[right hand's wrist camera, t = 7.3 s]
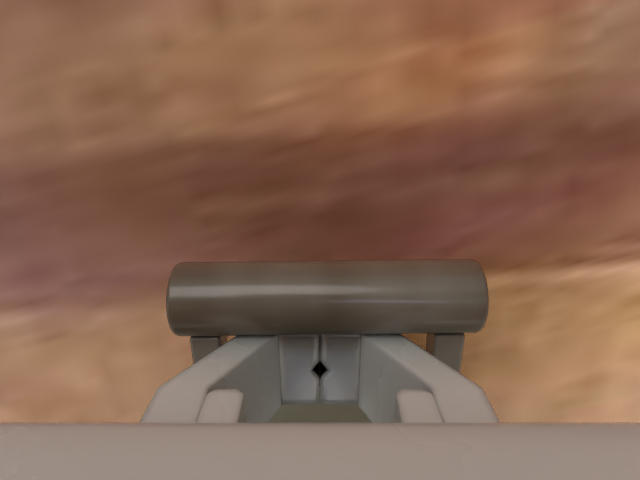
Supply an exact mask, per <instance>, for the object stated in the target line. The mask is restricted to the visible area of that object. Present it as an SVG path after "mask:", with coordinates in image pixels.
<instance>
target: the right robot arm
mask: <svg viewBox="0 0 640 480" xmlns="http://www.w3.org/2000/svg"><path fill="white" fill-rule="evenodd" d="M319 391H320V404H342V405H359V408H360V409H361V410H362V412H363V413H364V414H365V415H366V416H367V418H368V419H369V420H370V421H371V422H372V423H268V422H269V421H270V420H271V419H272V418H273V416H274V415H275V414H276V413H277V412H278V410H279V409H280V408H281V405H297V404H319ZM0 480H640V423H500V422H499V420H498V418H497V416H496V414H495V412H494V410H493V408H492V406H491V404H490V402H489V400H488V398H487V397H486V395H485V393H484V391H483V389H482V388H481V387H480V386H478V385H477V384H475V383H474V382H472V381H471V380H469V379H468V378H466V377H465V376H463V375H461V374H460V373H458V372H457V371H455V370H454V369H452V368H451V367H449V366H448V365H446V364H445V363H443V362H442V361H440V360H439V359H437V358H436V357H434V356H433V355H431V354H430V353H428V352H427V351H425V350H424V349H422V348H420V347H419V346H417V345H416V344H414V343H413V342H411V341H410V340H408V339H407V338H405V337H404V336H402V335H401V334H322V335H237V336H236V337H234V338H233V339H231V340H230V341H228V342H227V343H225V344H224V345H222V346H221V347H219V348H218V349H216V350H215V351H213V352H211V353H210V354H208V355H207V356H205V357H204V358H202V359H201V360H199V361H198V362H196V363H195V364H193V365H192V366H190V367H189V368H187V369H186V370H184V371H182V372H181V373H179V374H178V375H176V376H175V377H173V378H172V379H170V380H169V381H167V382H166V383H164V384H163V385H161V386H160V387H158V389H157V390H156V392H155V394H154V396H153V398H152V400H151V402H150V404H149V406H148V407H147V409H146V411H145V413H144V415H143V417H142V419H141V421H140V423H0Z"/></svg>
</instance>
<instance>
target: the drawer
mask: <svg viewBox="0 0 640 480" xmlns="http://www.w3.org/2000/svg"><path fill="white" fill-rule="evenodd" d="M488 302H489V299H488V288H487V282H486V278H485V275H484V272H483V270H482V268H481V266H480V264H479V263H478V262H477V261H475V260H472V259H432V260H346V261H260V262H182V263H179V264H177V265H176V266H175V267H174V269H173V270H172V272H171V275H170V278H169V282H168V287H167V296H166V309H167V318H168V322H169V326H170V328H171V330H172V332H173V333H174V334H175V335H178V336H191V338H190V342H191V349H192V356H193V362H194V364H195V363H196V362H198V361H199V360H201V359H202V358H204V357H205V356H207V355H208V354H210V353H211V352H213V351H215V350H216V349H218V348H219V347H221V346H222V345H224V344H225V343H227V336H235V335H322V334H410V333H427V340H426V350H425V351H427V352H428V353H430V354H431V355H433V356H434V357H436V358H437V359H439V360H440V361H442V362H443V363H445V364H446V365H448V366H449V367H451V368H452V369H454V370H455V371H457V372H458V373H460V366H461V359H462V352H463V344H464V337H465V336H464V333H476V332H478V331H480V330H482V328H483V327H484V325H485V323H486V319H487V315H488ZM268 423H372V422H371V421H370V420H369V419H368V418H367V416H366V415H365V414H364V413H363V412H362V410H361V409H360V408H359V405H342V404H320V391H319V404H297V405H281V408H280V409H279V410H278V412H277V413H276V414H275V415H274V416H273V418H272V419H271V420H270V421H269V422H268Z"/></svg>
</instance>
